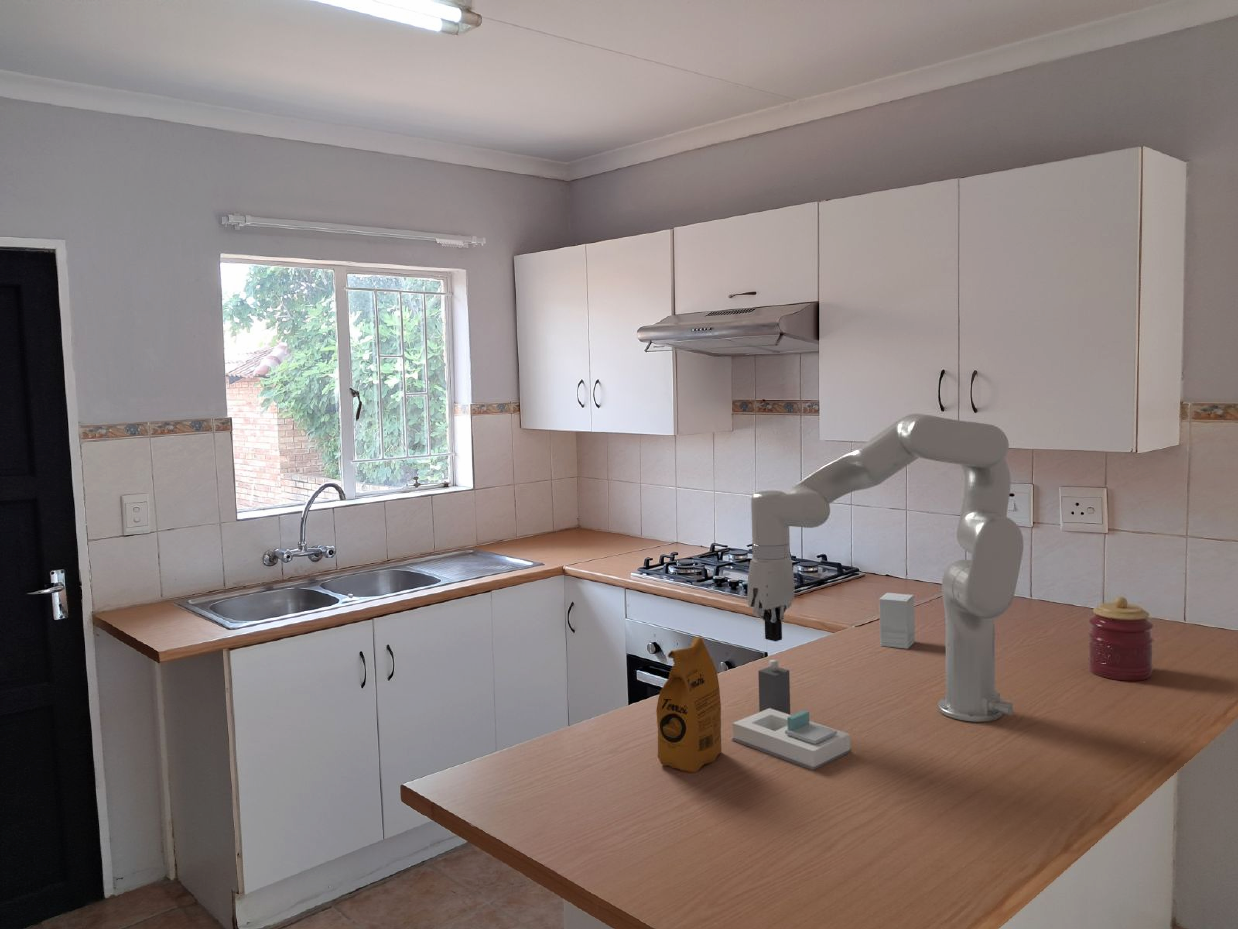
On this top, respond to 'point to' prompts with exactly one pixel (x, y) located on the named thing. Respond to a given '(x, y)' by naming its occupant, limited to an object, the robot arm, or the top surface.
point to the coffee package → (689, 710)
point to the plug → (774, 688)
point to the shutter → (807, 728)
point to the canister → (1120, 641)
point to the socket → (788, 740)
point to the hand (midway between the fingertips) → (773, 639)
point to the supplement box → (897, 620)
